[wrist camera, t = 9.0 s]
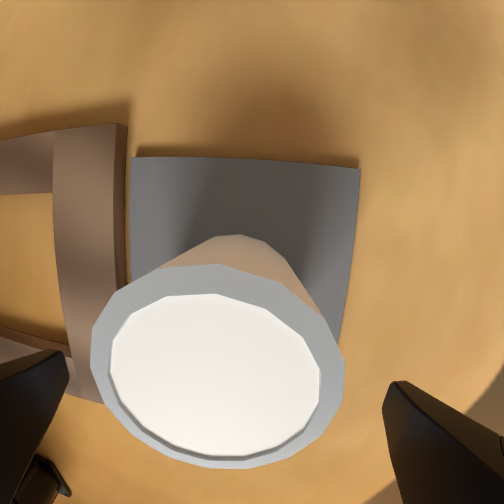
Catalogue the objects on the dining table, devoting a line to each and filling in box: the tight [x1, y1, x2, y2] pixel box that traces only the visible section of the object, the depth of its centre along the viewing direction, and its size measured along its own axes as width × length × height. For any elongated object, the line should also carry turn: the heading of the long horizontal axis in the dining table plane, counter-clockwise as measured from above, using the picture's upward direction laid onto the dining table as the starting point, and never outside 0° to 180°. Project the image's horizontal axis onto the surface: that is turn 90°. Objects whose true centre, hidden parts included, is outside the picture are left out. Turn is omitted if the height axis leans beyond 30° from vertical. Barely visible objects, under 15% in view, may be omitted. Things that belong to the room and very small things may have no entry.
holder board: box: [0, 123, 128, 404], centre depth 14 cm, size 15×16×1 cm
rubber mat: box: [129, 157, 361, 344], centre depth 14 cm, size 12×10×1 cm
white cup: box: [90, 234, 345, 469], centre depth 11 cm, size 7×7×7 cm
